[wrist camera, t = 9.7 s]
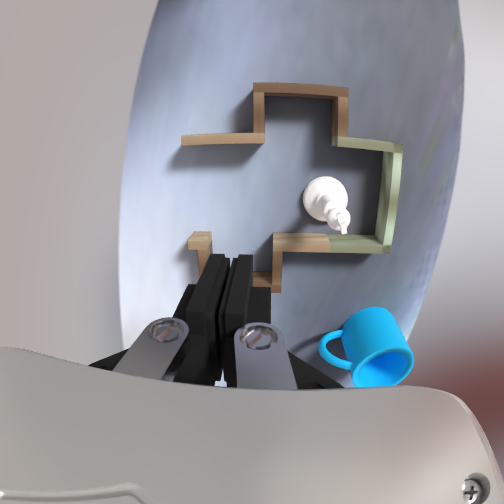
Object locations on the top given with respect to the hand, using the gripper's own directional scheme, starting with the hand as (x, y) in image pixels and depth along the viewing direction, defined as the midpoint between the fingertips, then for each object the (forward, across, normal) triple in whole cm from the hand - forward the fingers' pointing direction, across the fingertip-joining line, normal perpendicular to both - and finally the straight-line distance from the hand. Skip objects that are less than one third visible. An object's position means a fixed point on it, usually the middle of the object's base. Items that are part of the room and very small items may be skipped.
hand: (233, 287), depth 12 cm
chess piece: (+21, -8, +1) cm, 22 cm away
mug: (+21, -14, +19) cm, 32 cm away
